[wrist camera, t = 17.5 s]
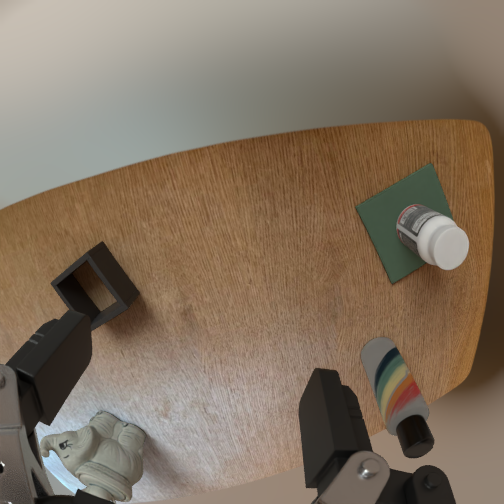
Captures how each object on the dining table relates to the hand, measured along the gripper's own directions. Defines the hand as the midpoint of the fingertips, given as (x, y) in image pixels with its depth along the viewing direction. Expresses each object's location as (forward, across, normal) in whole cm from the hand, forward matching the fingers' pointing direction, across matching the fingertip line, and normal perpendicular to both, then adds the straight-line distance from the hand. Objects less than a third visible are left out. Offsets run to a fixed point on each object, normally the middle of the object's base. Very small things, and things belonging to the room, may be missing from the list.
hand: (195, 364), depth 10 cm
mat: (+30, -22, -2) cm, 37 cm away
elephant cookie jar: (+30, +18, +49) cm, 60 cm away
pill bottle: (+29, -22, -2) cm, 37 cm away
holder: (+30, +18, +16) cm, 38 cm away
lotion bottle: (+30, -25, +18) cm, 42 cm away
